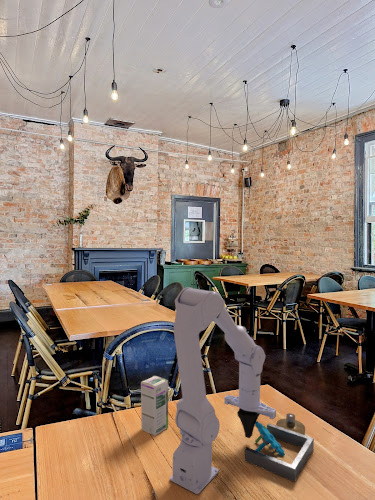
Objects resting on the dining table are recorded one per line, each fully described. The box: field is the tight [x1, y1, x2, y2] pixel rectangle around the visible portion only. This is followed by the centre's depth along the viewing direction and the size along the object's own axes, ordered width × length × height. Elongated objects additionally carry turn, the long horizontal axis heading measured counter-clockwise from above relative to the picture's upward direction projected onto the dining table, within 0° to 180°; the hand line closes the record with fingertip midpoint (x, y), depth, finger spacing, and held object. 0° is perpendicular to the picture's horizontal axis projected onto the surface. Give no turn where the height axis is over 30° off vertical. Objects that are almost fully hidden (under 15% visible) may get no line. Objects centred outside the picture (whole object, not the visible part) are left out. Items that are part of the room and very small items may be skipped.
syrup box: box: [140, 375, 169, 437], centre depth 101 cm, size 6×6×14 cm
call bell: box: [275, 412, 306, 435], centre depth 100 cm, size 8×8×5 cm
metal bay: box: [244, 422, 315, 483], centre depth 89 cm, size 15×13×3 cm
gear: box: [254, 420, 286, 457], centre depth 90 cm, size 11×6×10 cm
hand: (248, 436), depth 94 cm, fingers closed
